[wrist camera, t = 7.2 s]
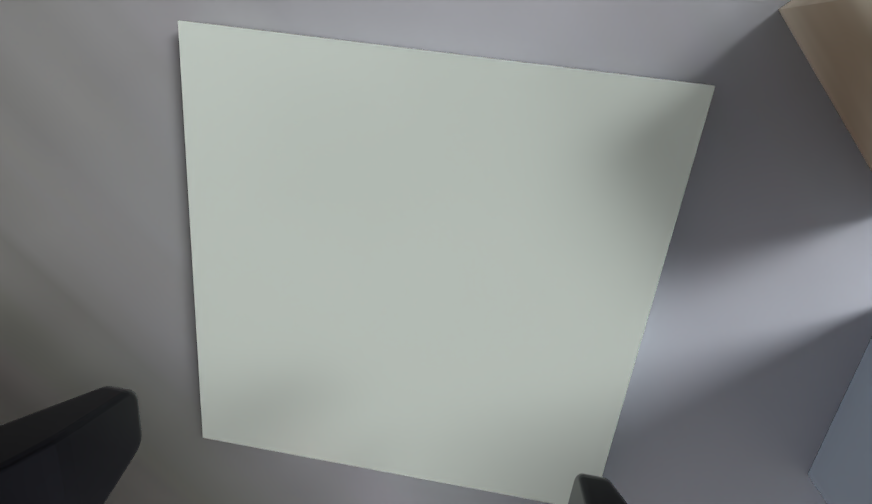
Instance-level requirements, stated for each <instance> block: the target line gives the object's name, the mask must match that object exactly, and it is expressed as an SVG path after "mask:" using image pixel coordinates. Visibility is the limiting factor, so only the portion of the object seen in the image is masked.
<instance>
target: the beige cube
mask: <svg viewBox="0 0 872 504" xmlns="http://www.w3.org/2000/svg"><path fill="white" fill-rule="evenodd" d="M778 10H779V12H780V13H781V15H782V17H783V19H784V20H785V22H786V24H787V25H788V27H789V29H790V31H791V32H792V34H793V36H794V38H795V39H796V41H797V43H798V45H799V46H800V48H801V50H802V52H803V53H804V55H805V57H806V58H807V60H808V62H809V64H810V65H811V67H812V69H813V71H814V72H815V74H816V76H817V78H818V79H819V81H820V83H821V84H822V86H823V88H824V90H825V91H826V93H827V95H828V97H829V98H830V100H831V102H832V104H833V105H834V107H835V109H836V110H837V112H838V114H839V116H840V117H841V119H842V121H843V123H844V124H845V126H846V128H847V130H848V131H849V133H850V135H851V136H852V138H853V140H854V142H855V143H856V145H857V147H858V149H859V150H860V152H861V154H862V156H863V157H864V159H865V161H866V163H867V164H868V166H869V168H870V169H871V171H872V0H791V1H790V2H788V3H787V4H785V5H784V6H783V7H781V8H780V9H778Z"/></svg>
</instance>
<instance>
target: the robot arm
mask: <svg viewBox="0 0 872 504" xmlns="http://www.w3.org/2000/svg"><path fill="white" fill-rule="evenodd" d="M140 442H141V424H140V415H139V406H138V398H137V395H136V394H135V392H133V391H131V390H128V389H123V388H118V387H112V386H106V387H102V388H99V389H97V390H94V391H91V392H89V393H86V394H84V395H81V396H78V397H76V398H73V399H70V400H68V401H65V402H62V403H60V404H57V405H54V406H52V407H49V408H46V409H44V410H41V411H38V412H36V413H33V414H30V415H28V416H25V417H22V418H20V419H17V420H14V421H12V422H9V423H7V424H4V425H1V426H0V504H104V503H105V501H106V500H107V498H108V496H109V495H110V493H111V492H112V490H113V488H114V487H115V485H116V484H117V482H118V480H119V479H120V477H121V476H122V474H123V473H124V471H125V469H126V468H127V466H128V465H129V463H130V461H131V460H132V458H133V457H134V455H135V453H136V452H137V450H138V447H139V445H140ZM568 504H627V503H626V501H625V500H624V499H623V497H622V496H621V495H620V493H619V492H618V491H617V490H616V488H615V487H614V486H613V484H612V483H611V482H610V481H609V480H608V479H606V478H604V477H600V476H594V475H589V474H584V473H580V474H578V475H577V476H576V478H575V480H574V483H573V487H572V490H571V494H570V498H569V502H568Z"/></svg>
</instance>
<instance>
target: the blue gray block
mask: <svg viewBox="0 0 872 504" xmlns="http://www.w3.org/2000/svg"><path fill="white" fill-rule="evenodd" d="M808 476H809V478H810V479H811V481H812V482H813V483H814V485H815V486H816V488H817V489H818V491H819V492H820V493H821V495H822V496H823V498H824V499H825V501H826V502H827V504H872V338H871V340H870V342H869V344H868V346H867V348H866V351H865V353H864V355H863V357H862V359H861V361H860V363H859V366H858V368H857V370H856V372H855V374H854V376H853V378H852V381H851V383H850V385H849V387H848V389H847V391H846V393H845V396H844V398H843V400H842V402H841V404H840V406H839V408H838V411H837V413H836V415H835V417H834V419H833V421H832V423H831V426H830V428H829V430H828V432H827V434H826V436H825V438H824V441H823V443H822V445H821V447H820V449H819V451H818V453H817V456H816V458H815V460H814V462H813V464H812V466H811V468H810V471H809V473H808Z"/></svg>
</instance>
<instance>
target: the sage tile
mask: <svg viewBox="0 0 872 504" xmlns="http://www.w3.org/2000/svg"><path fill="white" fill-rule="evenodd" d="M178 32H179V49H180V65H181V82H182V99H183V116H184V132H185V149H186V166H187V183H188V199H189V216H190V233H191V249H192V266H193V283H194V300H195V316H196V333H197V350H198V366H199V383H200V400H201V417H202V433H203V438H207V439H212V440H217V441H223V442H228V443H233V444H239V445H244V446H249V447H255V448H260V449H265V450H270V451H276V452H281V453H286V454H292V455H297V456H302V457H308V458H313V459H318V460H323V461H329V462H334V463H339V464H345V465H350V466H355V467H361V468H366V469H371V470H376V471H382V472H387V473H392V474H398V475H403V476H408V477H414V478H419V479H424V480H429V481H435V482H440V483H445V484H451V485H456V486H461V487H467V488H472V489H477V490H482V491H488V492H493V493H498V494H504V495H509V496H514V497H520V498H525V499H530V500H536V501H541V502H546V503H551V504H568V502H569V498H570V494H571V490H572V487H573V483H574V480H575V478H576V476H577V475H578V474H580V473H584V474H589V475H594V476H600V477H602V475H603V471H604V468H605V464H606V461H607V458H608V454H609V451H610V447H611V444H612V440H613V437H614V433H615V430H616V427H617V423H618V420H619V416H620V413H621V409H622V406H623V402H624V399H625V396H626V392H627V389H628V385H629V382H630V378H631V375H632V371H633V368H634V365H635V361H636V358H637V354H638V351H639V347H640V344H641V340H642V337H643V334H644V330H645V327H646V323H647V320H648V316H649V313H650V310H651V306H652V303H653V299H654V296H655V292H656V289H657V285H658V282H659V279H660V275H661V272H662V268H663V265H664V261H665V258H666V254H667V251H668V248H669V244H670V241H671V237H672V234H673V230H674V227H675V223H676V220H677V217H678V213H679V210H680V206H681V203H682V199H683V196H684V192H685V189H686V186H687V182H688V179H689V175H690V172H691V168H692V165H693V161H694V158H695V155H696V151H697V148H698V144H699V141H700V137H701V134H702V130H703V127H704V124H705V120H706V117H707V113H708V110H709V106H710V103H711V99H712V96H713V93H714V89H715V86H713V85H707V84H700V83H692V82H684V81H675V80H667V79H659V78H651V77H643V76H634V75H626V74H618V73H610V72H602V71H593V70H585V69H577V68H569V67H561V66H552V65H544V64H536V63H528V62H520V61H511V60H503V59H495V58H487V57H478V56H470V55H462V54H454V53H446V52H437V51H429V50H421V49H413V48H405V47H396V46H388V45H380V44H372V43H364V42H355V41H347V40H339V39H331V38H323V37H314V36H306V35H298V34H290V33H282V32H273V31H265V30H257V29H249V28H241V27H232V26H224V25H216V24H208V23H199V22H190V21H179V20H178Z"/></svg>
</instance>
